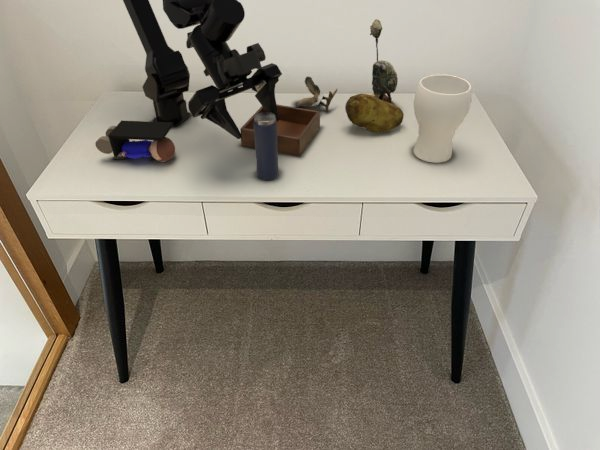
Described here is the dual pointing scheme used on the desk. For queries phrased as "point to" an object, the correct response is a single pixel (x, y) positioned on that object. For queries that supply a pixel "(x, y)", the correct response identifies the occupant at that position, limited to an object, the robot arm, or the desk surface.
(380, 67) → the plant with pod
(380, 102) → the potato
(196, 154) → the desk surface
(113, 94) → the desk surface
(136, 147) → the figurine character
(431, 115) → the cup
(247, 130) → the desk bin
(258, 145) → the can
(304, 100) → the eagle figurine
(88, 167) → the desk surface
